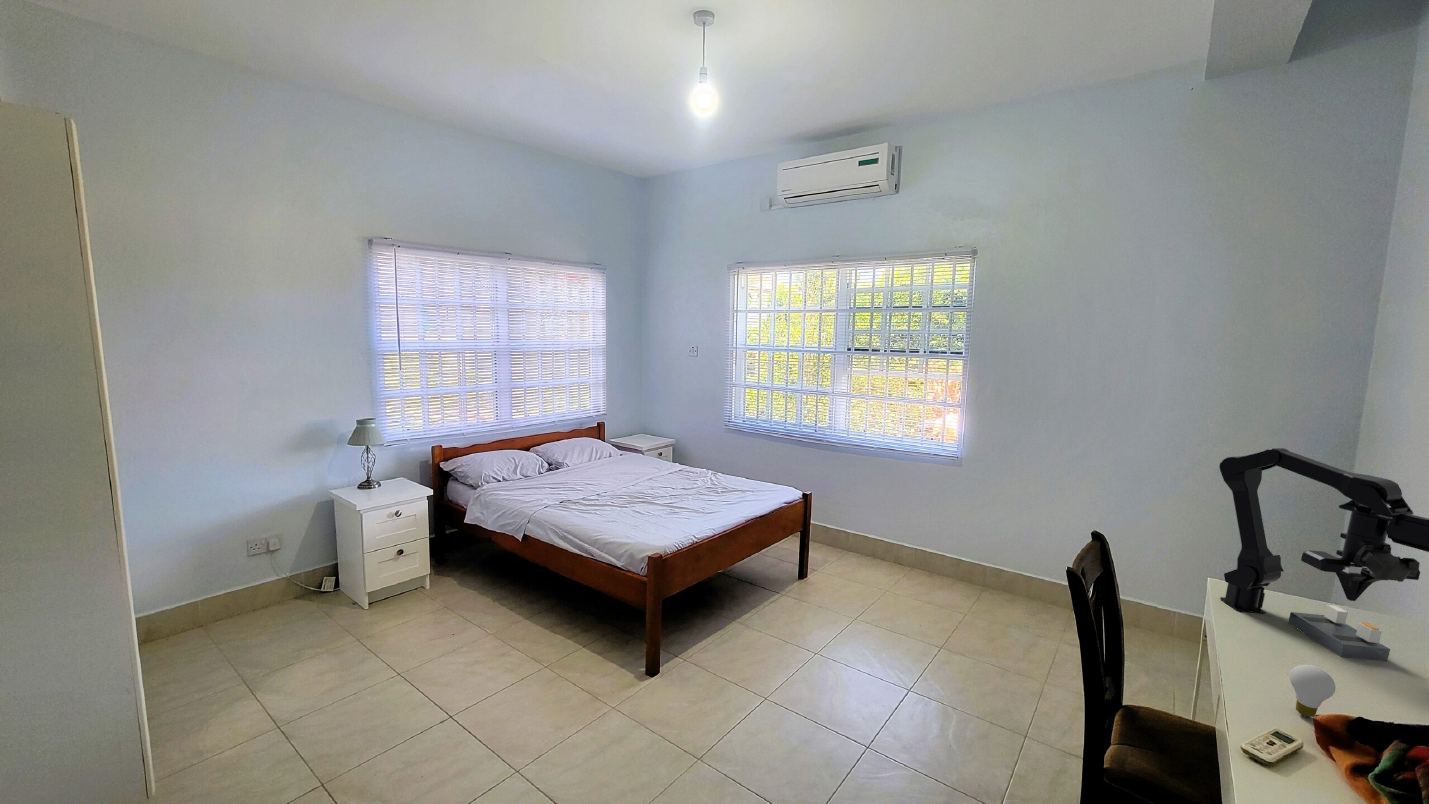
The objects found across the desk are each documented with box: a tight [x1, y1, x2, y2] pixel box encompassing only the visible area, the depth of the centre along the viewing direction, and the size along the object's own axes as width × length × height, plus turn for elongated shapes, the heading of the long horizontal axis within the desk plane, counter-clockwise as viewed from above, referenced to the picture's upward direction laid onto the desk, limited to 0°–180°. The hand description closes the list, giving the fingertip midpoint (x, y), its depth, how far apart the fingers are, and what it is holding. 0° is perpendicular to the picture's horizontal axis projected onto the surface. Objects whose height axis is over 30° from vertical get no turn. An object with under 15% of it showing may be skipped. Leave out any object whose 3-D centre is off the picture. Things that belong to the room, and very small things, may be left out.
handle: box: [1323, 604, 1349, 624], centre depth 136 cm, size 2×3×3 cm, turn 172°
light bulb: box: [1289, 664, 1336, 718], centre depth 107 cm, size 6×6×10 cm
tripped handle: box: [1356, 622, 1383, 643], centre depth 128 cm, size 2×3×3 cm, turn 172°
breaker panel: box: [1288, 611, 1391, 662], centre depth 133 cm, size 9×14×3 cm, turn 172°
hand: (1350, 600), depth 129 cm, fingers closed
